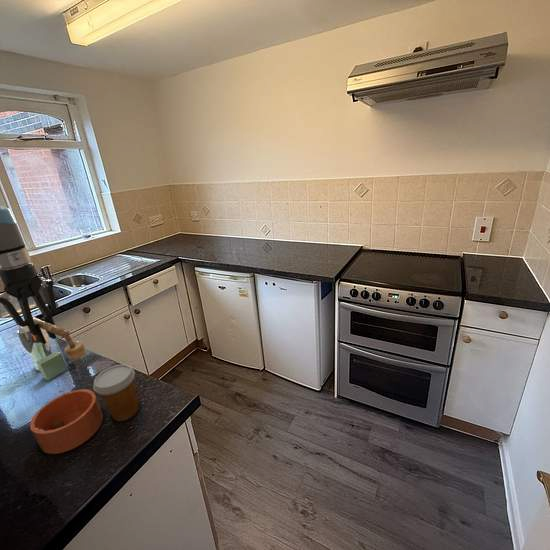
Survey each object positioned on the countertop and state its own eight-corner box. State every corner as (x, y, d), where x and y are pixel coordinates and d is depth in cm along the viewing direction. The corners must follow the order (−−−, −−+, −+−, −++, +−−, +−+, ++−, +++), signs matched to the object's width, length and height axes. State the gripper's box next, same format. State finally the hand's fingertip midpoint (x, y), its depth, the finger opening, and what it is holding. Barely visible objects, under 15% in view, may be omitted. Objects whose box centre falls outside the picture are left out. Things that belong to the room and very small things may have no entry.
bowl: (27, 459, 68) (16, 438, 66) (59, 412, 81) (50, 394, 79) (89, 448, 70) (80, 427, 67) (111, 404, 82) (104, 385, 80)
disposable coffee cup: (102, 411, 80) (88, 375, 76) (139, 393, 85) (127, 358, 81) (111, 433, 73) (95, 395, 69) (150, 411, 78) (138, 374, 74)
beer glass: (62, 360, 104) (46, 323, 99) (41, 373, 99) (23, 334, 93) (51, 356, 107) (35, 320, 102) (29, 368, 101) (11, 331, 96)
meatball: (50, 435, 73) (45, 426, 72) (58, 426, 76) (54, 417, 75) (61, 434, 73) (56, 425, 72) (68, 425, 76) (64, 416, 75)
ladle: (32, 341, 92) (17, 320, 89) (47, 333, 96) (33, 311, 92) (74, 361, 81) (59, 337, 77) (89, 351, 84) (76, 327, 80)
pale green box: (43, 378, 96) (35, 361, 94) (63, 366, 101) (56, 351, 98) (48, 380, 95) (40, 364, 92) (67, 369, 99) (61, 353, 97)
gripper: (-15, 277, 72) (24, 357, 81) (52, 257, 84) (80, 329, 93) (-27, 274, 76) (12, 351, 84) (39, 255, 88) (67, 325, 96)
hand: (48, 339), depth 88 cm, fingers closed on ladle, 2 cm apart
